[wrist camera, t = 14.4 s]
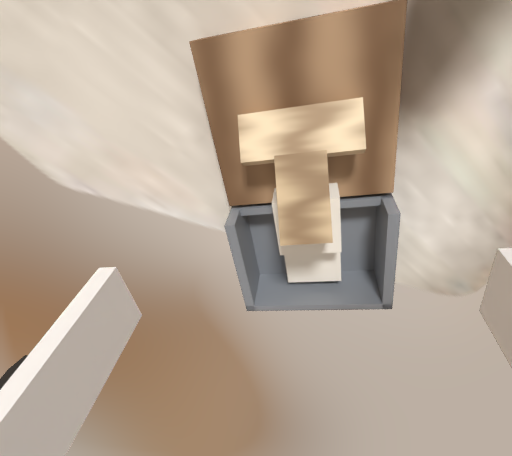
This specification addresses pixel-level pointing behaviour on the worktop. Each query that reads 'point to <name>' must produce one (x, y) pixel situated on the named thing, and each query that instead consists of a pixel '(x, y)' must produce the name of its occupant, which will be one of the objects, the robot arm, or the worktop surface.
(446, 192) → the worktop surface
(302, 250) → the tile
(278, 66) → the board
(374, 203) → the tray
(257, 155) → the scraper
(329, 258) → the tile
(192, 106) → the worktop surface
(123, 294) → the robot arm
